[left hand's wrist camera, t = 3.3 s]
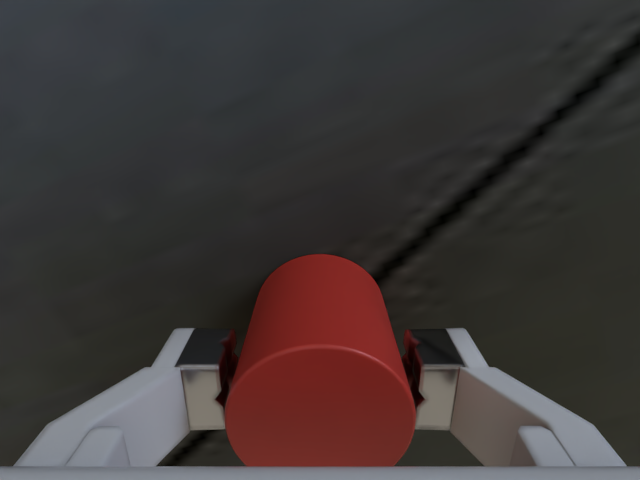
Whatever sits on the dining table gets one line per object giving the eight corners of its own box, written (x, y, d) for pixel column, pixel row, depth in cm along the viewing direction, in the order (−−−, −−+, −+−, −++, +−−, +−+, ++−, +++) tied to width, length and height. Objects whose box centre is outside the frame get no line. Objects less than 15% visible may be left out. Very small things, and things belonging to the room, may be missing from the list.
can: (230, 315, 12) (184, 432, 8) (314, 226, 11) (311, 307, 7) (324, 383, 13) (326, 519, 9) (410, 307, 12) (457, 420, 8)
